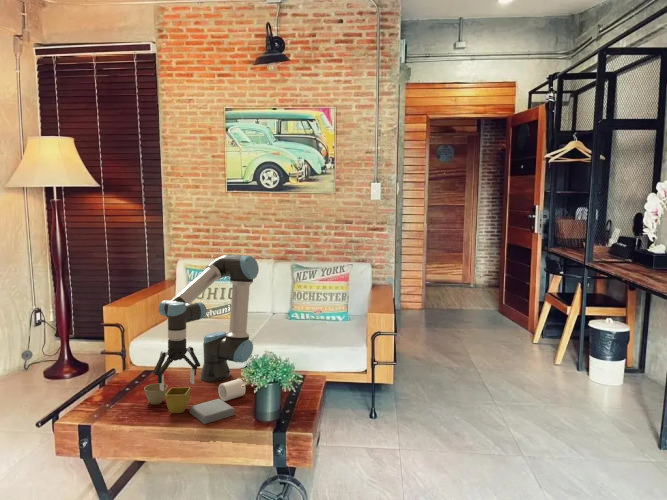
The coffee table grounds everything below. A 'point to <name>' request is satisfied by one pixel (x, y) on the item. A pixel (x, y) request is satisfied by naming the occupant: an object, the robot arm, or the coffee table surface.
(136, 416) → the coffee table surface
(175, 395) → the flower pot
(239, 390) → the mug
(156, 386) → the round planter pot
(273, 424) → the coffee table surface
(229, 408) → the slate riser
